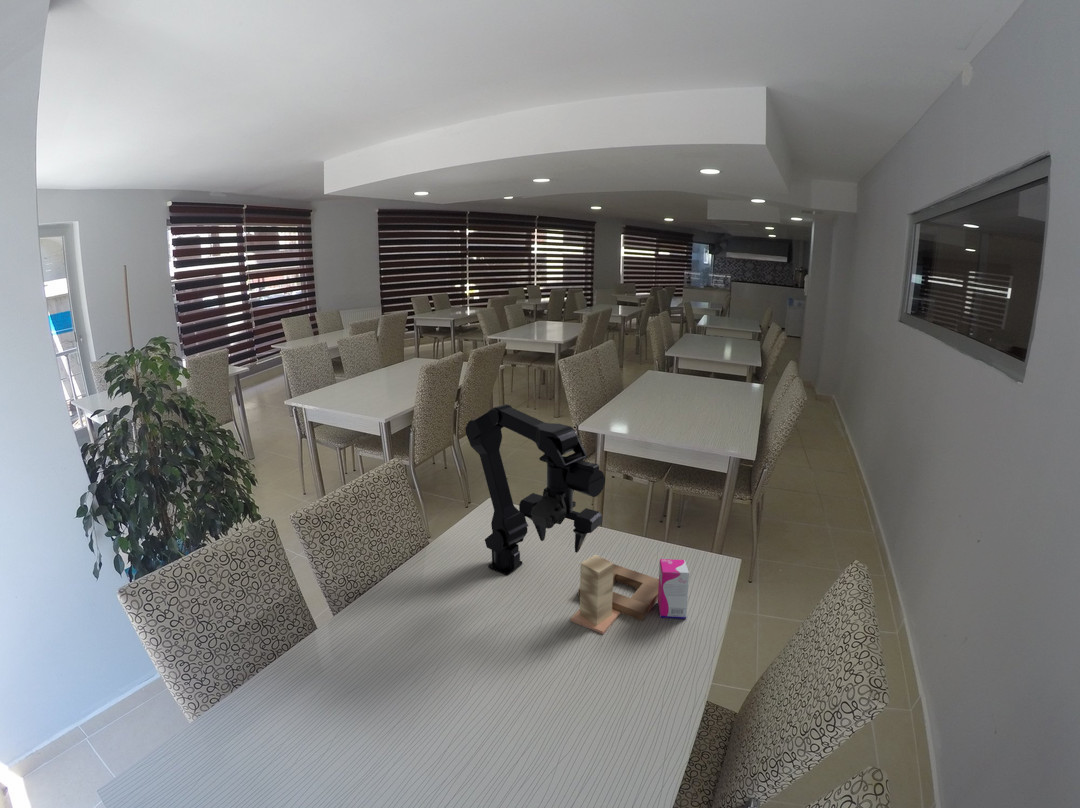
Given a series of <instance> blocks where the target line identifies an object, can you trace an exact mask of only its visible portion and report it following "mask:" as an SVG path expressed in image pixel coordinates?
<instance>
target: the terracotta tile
mask: <svg viewBox="0 0 1080 808" xmlns="http://www.w3.org/2000/svg"><path fill="white" fill-rule="evenodd" d="M620 615H621V613H620V612H619V611H617V610H614V609H612V615H611V616H610V617H609V618H607V619H606V620H604V621H603V622H601V623H600V624H599V625H595V624H593V623H592V622H590V621H589V620H587V619H585V618H584V617H582V616H580V608H579V609H578V610H577V611H576V612H575V614H574V615H573V616H572V617H571V618H570V621H571V622H573V623H575V624H577V625H580V626H582V627H584V628H587V629H590V630H592V631H595V632H597V633H599V634H602V635H604V634H605V633H606V632H607V631H608V630H609V628H610V627H611V626H612V625H613V624H614V623H615V621H616V620H617V619H618V618H619V616H620Z"/></svg>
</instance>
